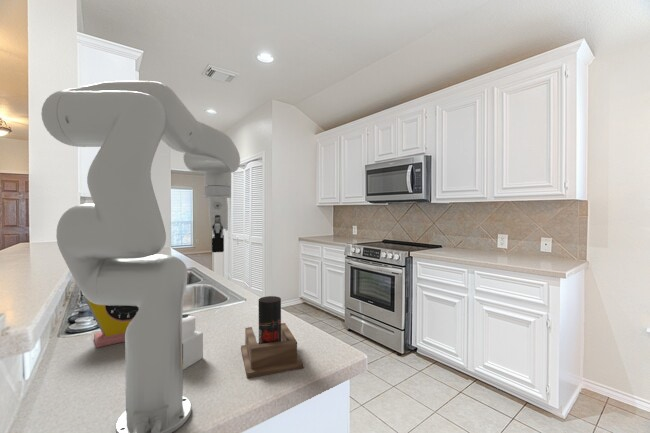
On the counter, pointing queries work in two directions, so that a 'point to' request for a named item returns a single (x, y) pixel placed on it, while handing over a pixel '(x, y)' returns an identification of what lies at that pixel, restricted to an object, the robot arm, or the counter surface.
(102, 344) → the yellow clock
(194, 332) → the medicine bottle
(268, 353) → the cradle
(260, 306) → the deodorant
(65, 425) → the counter surface
